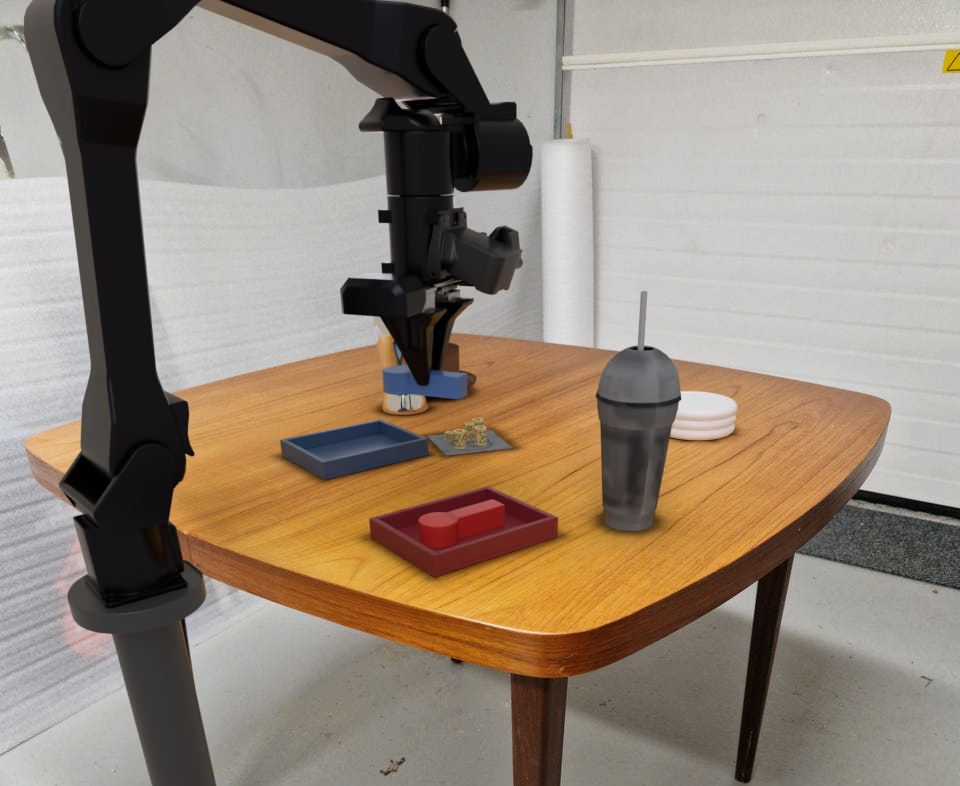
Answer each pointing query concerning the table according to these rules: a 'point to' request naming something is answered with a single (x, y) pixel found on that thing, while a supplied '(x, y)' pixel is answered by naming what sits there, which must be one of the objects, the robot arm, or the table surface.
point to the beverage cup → (635, 430)
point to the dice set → (469, 439)
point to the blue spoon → (440, 385)
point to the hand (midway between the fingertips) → (428, 382)
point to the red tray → (517, 533)
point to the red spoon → (460, 523)
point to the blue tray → (353, 448)
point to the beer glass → (393, 357)
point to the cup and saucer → (456, 364)
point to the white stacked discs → (704, 416)
